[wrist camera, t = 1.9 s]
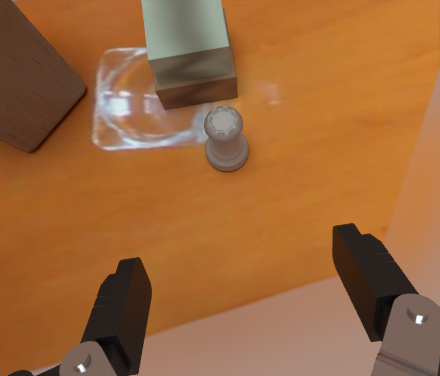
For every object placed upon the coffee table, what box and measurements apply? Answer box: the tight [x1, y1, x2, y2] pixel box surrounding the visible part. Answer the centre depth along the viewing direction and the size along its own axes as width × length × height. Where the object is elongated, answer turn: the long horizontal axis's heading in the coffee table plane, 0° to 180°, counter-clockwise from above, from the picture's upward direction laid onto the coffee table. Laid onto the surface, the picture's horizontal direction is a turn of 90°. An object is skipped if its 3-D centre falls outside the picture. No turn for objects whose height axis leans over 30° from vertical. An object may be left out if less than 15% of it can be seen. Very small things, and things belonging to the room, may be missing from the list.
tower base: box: [142, 0, 237, 110], centre depth 32 cm, size 8×8×8 cm
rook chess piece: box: [204, 105, 249, 171], centre depth 30 cm, size 4×4×8 cm
